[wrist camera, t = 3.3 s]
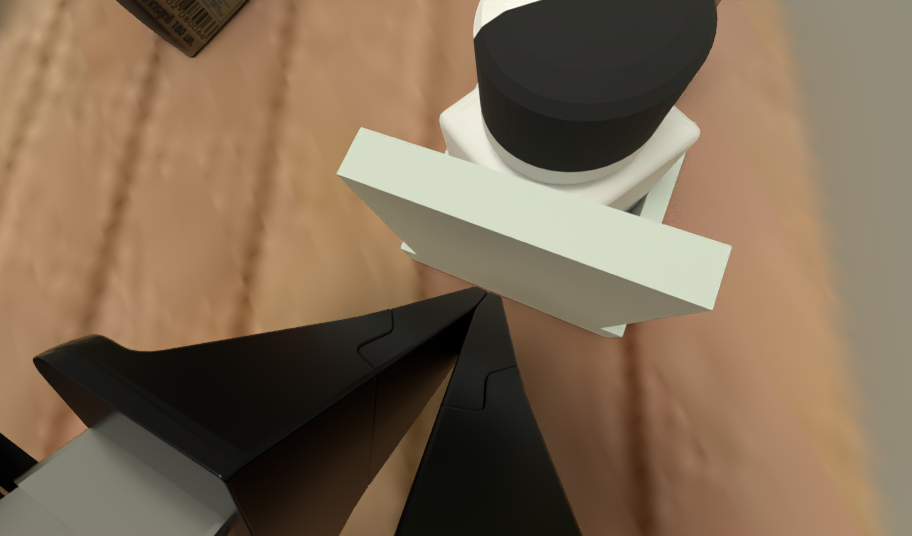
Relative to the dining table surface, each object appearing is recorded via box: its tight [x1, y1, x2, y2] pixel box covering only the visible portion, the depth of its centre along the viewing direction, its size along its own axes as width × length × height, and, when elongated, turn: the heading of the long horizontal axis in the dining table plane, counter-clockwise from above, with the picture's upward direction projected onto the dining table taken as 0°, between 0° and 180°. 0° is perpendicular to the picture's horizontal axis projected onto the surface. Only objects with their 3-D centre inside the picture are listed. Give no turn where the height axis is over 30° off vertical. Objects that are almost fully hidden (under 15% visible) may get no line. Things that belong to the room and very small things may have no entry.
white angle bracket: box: [337, 83, 732, 338], centre depth 14 cm, size 12×12×11 cm
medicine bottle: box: [439, 0, 717, 213], centre depth 14 cm, size 7×7×12 cm
